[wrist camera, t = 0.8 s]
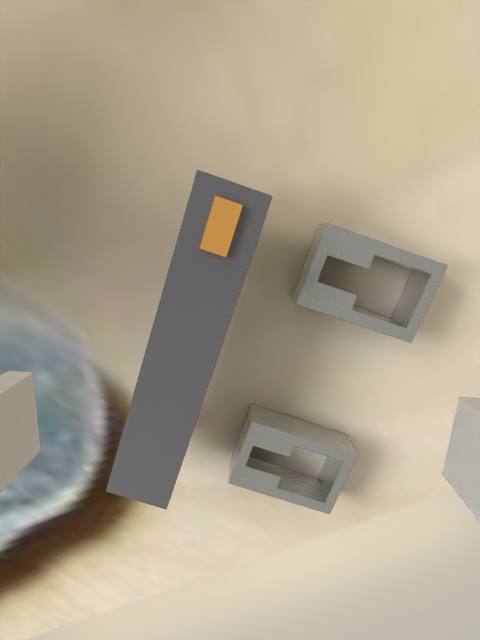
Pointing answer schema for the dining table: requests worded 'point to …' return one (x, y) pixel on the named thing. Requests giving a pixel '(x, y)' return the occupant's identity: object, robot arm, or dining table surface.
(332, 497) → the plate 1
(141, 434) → the grey rectangular bar
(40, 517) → the dining table surface
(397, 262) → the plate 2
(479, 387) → the dining table surface
